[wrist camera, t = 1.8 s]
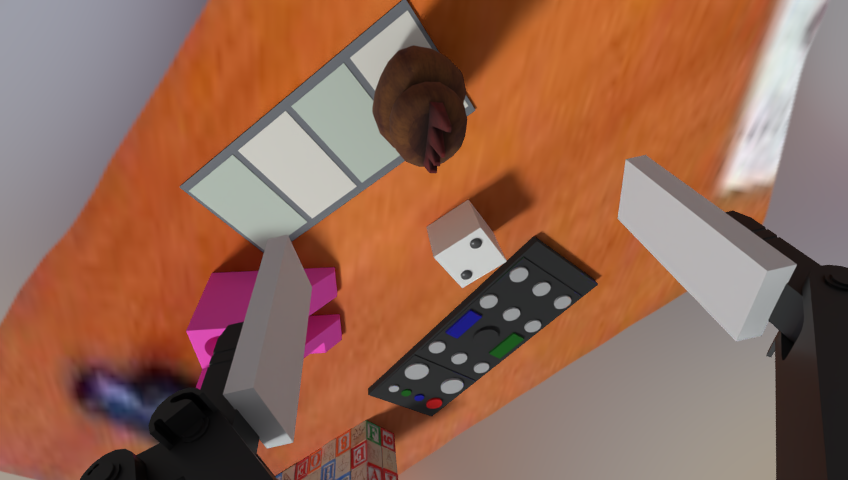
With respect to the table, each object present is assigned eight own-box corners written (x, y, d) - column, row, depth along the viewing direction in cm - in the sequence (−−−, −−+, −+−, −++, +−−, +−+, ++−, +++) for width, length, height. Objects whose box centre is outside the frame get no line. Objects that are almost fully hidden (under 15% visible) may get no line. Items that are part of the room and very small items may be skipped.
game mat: (405, -2, 29) (405, -2, 29) (474, 109, 35) (475, 110, 34) (180, 186, 35) (179, 187, 35) (269, 256, 40) (269, 257, 40)
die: (468, 198, 40) (480, 228, 36) (492, 231, 42) (507, 262, 38) (426, 226, 41) (433, 257, 37) (452, 256, 44) (462, 288, 40)
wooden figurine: (397, 21, 30) (425, 74, 18) (464, 60, 32) (528, 130, 20) (360, 105, 33) (362, 199, 21) (422, 135, 35) (457, 235, 23)
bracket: (235, 341, 47) (208, 426, 39) (212, 272, 41) (175, 355, 33) (341, 333, 48) (338, 414, 40) (334, 266, 42) (329, 344, 34)
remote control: (368, 385, 55) (368, 398, 54) (532, 233, 44) (539, 244, 42) (430, 407, 61) (432, 419, 59) (592, 276, 49) (600, 287, 47)
